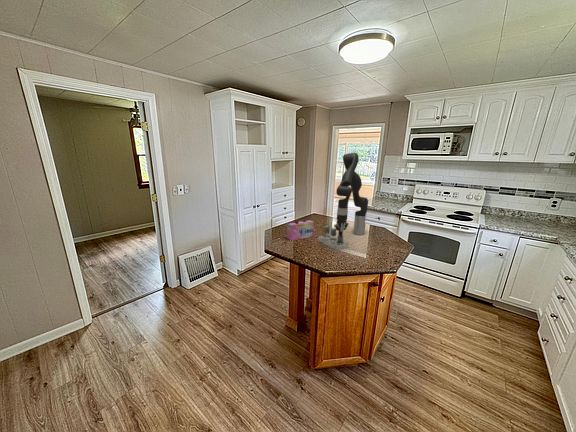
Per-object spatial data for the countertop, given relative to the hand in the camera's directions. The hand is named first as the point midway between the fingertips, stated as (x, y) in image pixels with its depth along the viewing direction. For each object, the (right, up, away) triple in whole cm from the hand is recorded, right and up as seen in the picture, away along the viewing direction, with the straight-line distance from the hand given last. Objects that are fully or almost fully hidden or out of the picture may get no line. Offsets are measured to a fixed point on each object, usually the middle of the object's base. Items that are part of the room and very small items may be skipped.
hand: (340, 235), depth 176 cm
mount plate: (-4, -7, +9) cm, 12 cm away
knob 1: (-8, +1, +14) cm, 16 cm away
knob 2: (0, -6, +1) cm, 6 cm away
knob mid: (-4, -1, +7) cm, 8 cm away
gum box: (-29, -4, +24) cm, 38 cm away
